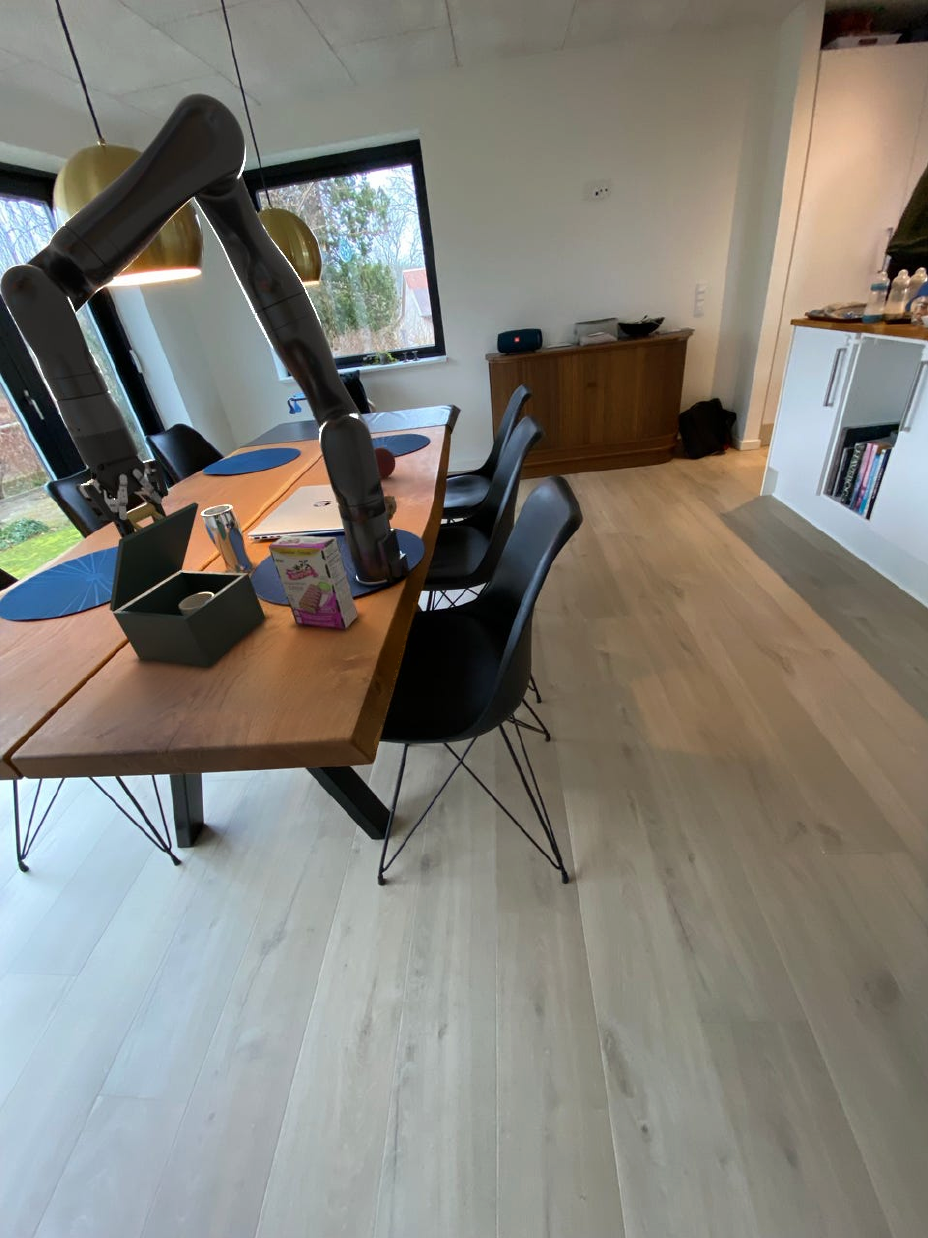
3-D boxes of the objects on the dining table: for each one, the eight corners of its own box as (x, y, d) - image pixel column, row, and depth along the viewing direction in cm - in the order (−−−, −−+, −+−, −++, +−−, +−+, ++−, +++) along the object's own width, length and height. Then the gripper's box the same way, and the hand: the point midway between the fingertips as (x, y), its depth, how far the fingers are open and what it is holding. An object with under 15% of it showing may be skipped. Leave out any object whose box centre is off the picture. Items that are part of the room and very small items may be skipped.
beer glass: (260, 562, 124) (238, 503, 116) (247, 576, 118) (223, 514, 110) (234, 564, 125) (210, 505, 117) (220, 578, 119) (193, 517, 111)
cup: (236, 627, 96) (221, 592, 92) (214, 645, 92) (197, 610, 88) (211, 625, 98) (195, 591, 94) (188, 643, 94) (171, 608, 90)
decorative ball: (364, 483, 170) (357, 452, 164) (374, 473, 178) (367, 444, 173) (393, 480, 168) (387, 450, 162) (401, 471, 176) (395, 441, 171)
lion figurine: (398, 524, 134) (391, 490, 129) (403, 530, 129) (396, 496, 125) (343, 538, 130) (334, 504, 126) (346, 545, 126) (337, 510, 121)
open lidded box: (266, 618, 100) (248, 573, 94) (209, 668, 87) (185, 619, 82) (201, 613, 105) (181, 570, 100) (139, 659, 93) (112, 613, 87)
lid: (198, 504, 89) (171, 484, 88) (123, 542, 77) (91, 519, 76) (182, 569, 100) (157, 552, 99) (113, 612, 87) (84, 592, 87)
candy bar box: (295, 626, 96) (265, 546, 87) (309, 612, 99) (283, 534, 91) (346, 631, 92) (321, 547, 83) (359, 616, 96) (337, 535, 87)
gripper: (72, 439, 70) (129, 552, 79) (155, 415, 81) (196, 516, 90) (34, 441, 72) (94, 550, 81) (120, 418, 83) (164, 516, 92)
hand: (147, 532), depth 85 cm, fingers closed on lid, 5 cm apart
